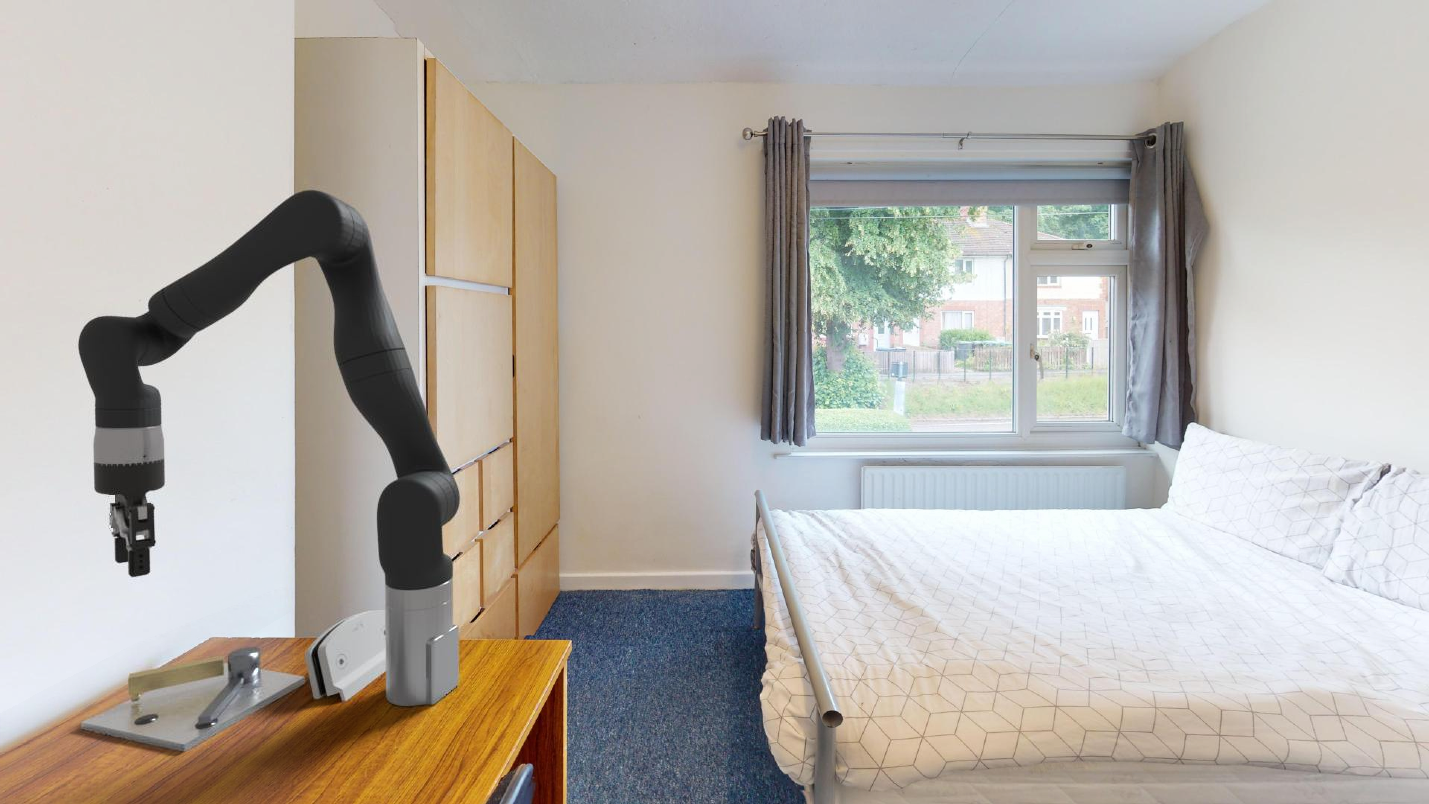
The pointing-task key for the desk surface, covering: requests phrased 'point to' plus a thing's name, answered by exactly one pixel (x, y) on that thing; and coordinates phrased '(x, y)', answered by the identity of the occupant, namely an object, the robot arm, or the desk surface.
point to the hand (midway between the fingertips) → (132, 568)
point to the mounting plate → (197, 705)
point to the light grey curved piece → (348, 655)
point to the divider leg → (174, 675)
